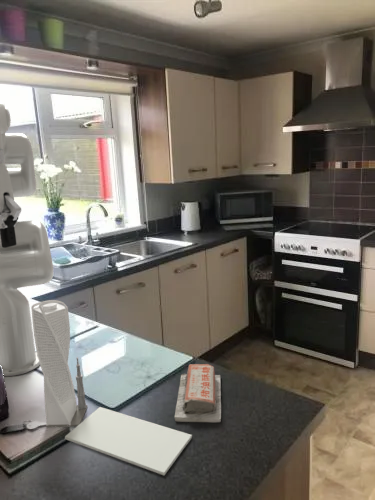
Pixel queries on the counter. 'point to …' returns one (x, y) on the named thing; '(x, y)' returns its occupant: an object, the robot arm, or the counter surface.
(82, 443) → the mat
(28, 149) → the robot arm
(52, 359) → the twisted tower model
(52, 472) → the counter surface
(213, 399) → the packaged product
